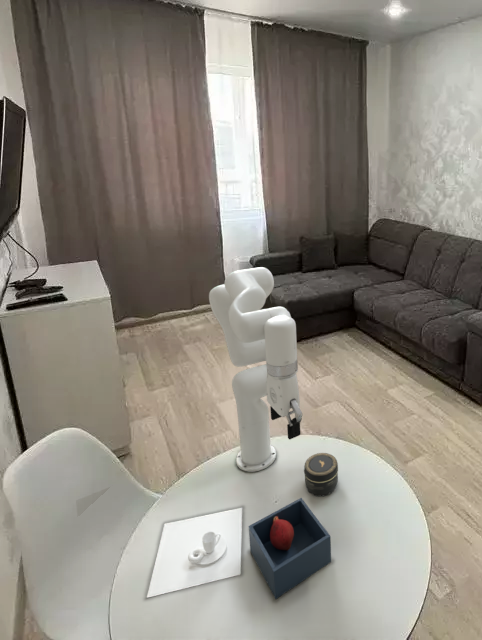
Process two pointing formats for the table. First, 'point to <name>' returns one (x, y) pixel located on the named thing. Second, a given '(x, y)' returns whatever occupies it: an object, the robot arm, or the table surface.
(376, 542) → the table surface
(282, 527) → the pomegranate
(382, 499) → the table surface
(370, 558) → the table surface
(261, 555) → the bin
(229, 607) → the table surface
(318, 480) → the jar
